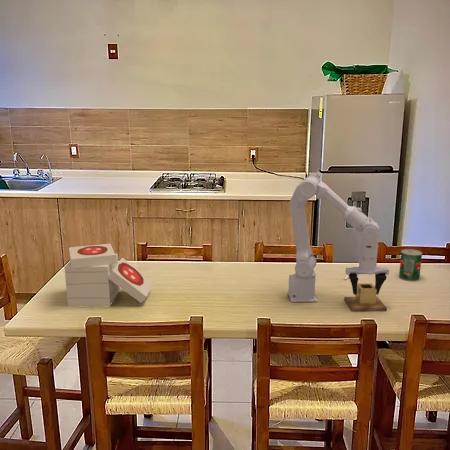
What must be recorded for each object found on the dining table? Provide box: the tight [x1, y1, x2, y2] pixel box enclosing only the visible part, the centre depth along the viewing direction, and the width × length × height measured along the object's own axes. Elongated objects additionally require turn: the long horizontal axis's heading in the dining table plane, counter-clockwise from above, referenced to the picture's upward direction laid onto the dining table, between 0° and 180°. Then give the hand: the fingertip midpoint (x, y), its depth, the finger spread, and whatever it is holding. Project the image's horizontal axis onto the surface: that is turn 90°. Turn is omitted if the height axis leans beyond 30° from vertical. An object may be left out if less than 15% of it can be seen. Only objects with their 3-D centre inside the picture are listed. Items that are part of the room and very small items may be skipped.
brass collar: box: [354, 282, 377, 306], centre depth 169 cm, size 6×6×6 cm
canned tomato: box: [398, 248, 423, 282], centre depth 196 cm, size 8×8×11 cm
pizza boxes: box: [64, 243, 154, 307], centre depth 175 cm, size 19×30×18 cm, turn 89°
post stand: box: [343, 295, 388, 312], centre depth 170 cm, size 12×10×4 cm
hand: (365, 293), depth 170 cm, fingers open, 7 cm apart
